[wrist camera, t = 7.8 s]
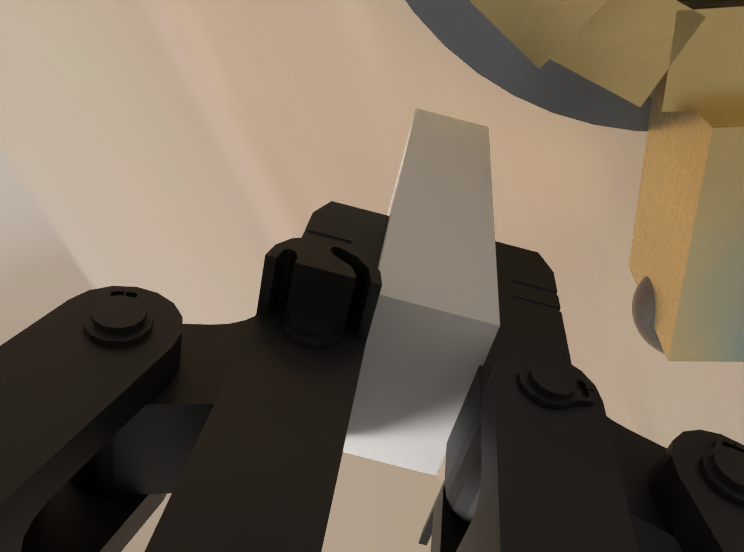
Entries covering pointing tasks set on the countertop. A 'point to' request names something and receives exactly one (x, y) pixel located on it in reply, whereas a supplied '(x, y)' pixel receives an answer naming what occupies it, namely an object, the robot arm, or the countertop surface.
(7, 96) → the countertop surface
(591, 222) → the countertop surface
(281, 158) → the countertop surface
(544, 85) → the base
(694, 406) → the countertop surface
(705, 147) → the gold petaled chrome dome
